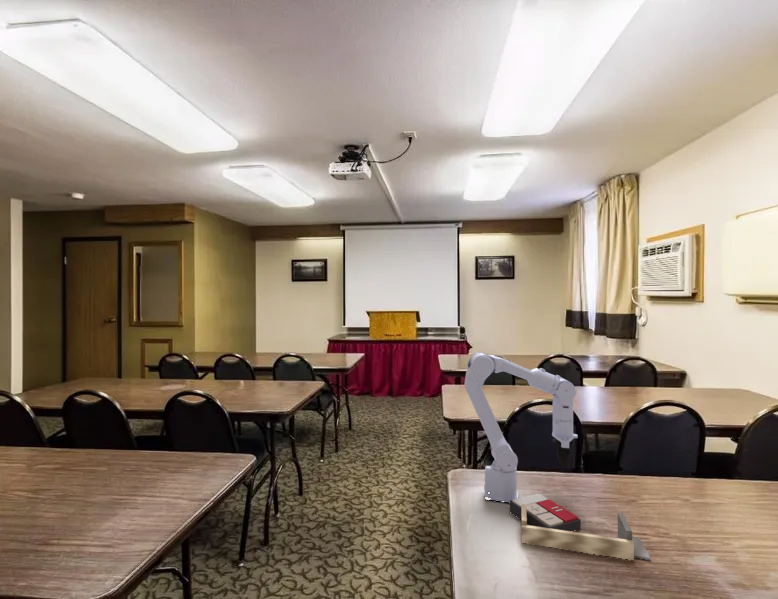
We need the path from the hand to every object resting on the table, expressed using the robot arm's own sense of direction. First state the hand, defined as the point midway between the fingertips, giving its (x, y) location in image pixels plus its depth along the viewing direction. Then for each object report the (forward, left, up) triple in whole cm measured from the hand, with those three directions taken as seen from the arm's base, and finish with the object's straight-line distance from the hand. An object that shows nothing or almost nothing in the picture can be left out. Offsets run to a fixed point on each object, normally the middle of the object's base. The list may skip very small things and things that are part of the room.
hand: (563, 464), depth 126 cm
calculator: (-6, -15, -11) cm, 20 cm away
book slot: (+2, -23, -10) cm, 26 cm away
